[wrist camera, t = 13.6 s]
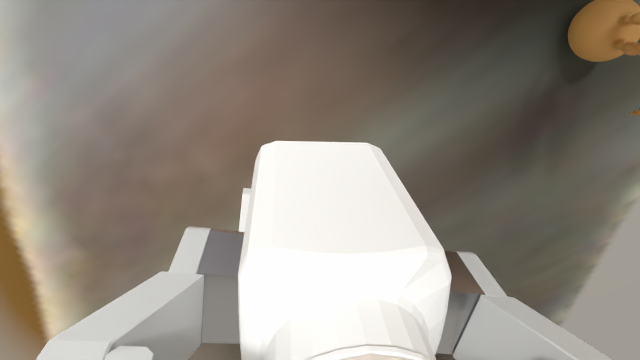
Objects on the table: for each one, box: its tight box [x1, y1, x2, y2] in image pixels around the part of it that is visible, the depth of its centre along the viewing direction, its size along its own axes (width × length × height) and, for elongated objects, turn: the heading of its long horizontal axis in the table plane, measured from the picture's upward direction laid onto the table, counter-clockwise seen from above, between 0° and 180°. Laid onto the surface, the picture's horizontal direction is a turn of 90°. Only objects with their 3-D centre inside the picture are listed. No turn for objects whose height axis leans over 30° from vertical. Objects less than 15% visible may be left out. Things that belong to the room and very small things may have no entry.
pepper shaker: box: [238, 141, 452, 360], centre depth 9 cm, size 4×4×10 cm
